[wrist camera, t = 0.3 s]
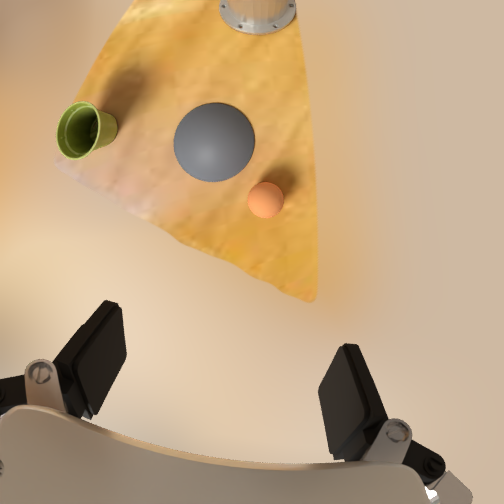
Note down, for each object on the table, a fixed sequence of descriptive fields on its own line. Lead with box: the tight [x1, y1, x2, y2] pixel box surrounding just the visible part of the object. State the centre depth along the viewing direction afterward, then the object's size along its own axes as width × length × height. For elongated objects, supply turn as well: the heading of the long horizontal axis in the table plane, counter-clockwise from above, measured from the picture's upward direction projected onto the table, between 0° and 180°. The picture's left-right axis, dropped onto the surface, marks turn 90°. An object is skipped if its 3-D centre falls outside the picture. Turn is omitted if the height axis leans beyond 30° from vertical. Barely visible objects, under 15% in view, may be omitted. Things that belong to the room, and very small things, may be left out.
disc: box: [174, 103, 254, 182], centre depth 40 cm, size 13×13×1 cm
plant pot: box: [56, 101, 118, 160], centre depth 35 cm, size 9×9×9 cm
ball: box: [248, 182, 284, 218], centre depth 41 cm, size 6×6×6 cm
